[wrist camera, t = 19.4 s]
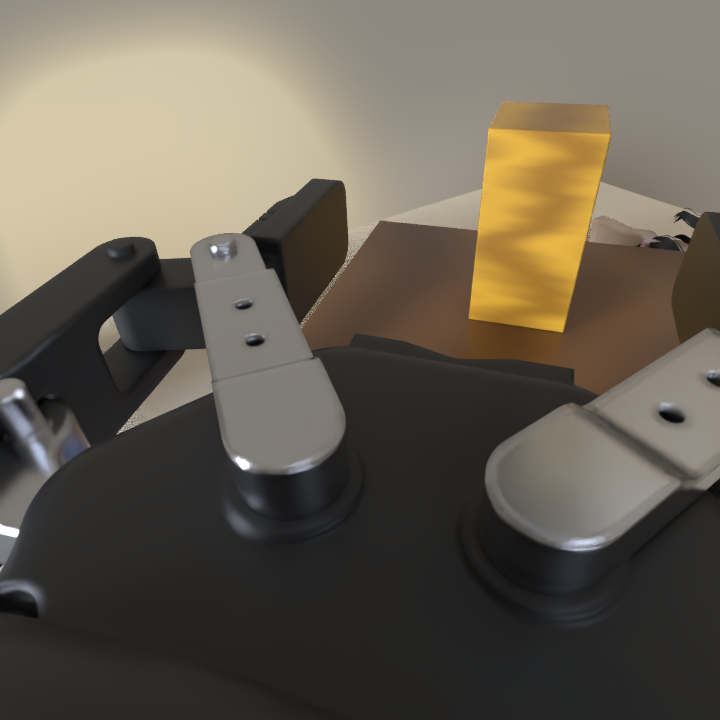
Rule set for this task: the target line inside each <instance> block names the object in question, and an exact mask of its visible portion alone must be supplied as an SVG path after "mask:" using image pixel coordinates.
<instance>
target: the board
mask: <svg viewBox="0 0 720 720" xmlns="http://www.w3.org/2000/svg"><path fill="white" fill-rule="evenodd" d="M477 234H478V231H477V230H467V229H457V228H447V227H437V226H427V225H417V224H407V223H397V222H388V221H379V223H378V224H377V226H376V227H375V228H374V230H373V231H372V233H371V234H370V235H369V237H368V238H367V239H366V241H365V242H364V244H363V245H362V246H361V248H360V249H359V251H358V252H357V253H356V255H355V256H354V258H353V259H352V260H351V262H350V263H349V264H348V266H347V267H346V269H345V270H344V271H343V273H342V274H341V276H340V277H339V278H338V280H337V281H336V282H335V284H334V285H333V287H332V288H331V289H330V291H329V292H328V294H327V295H326V296H325V298H324V299H323V301H322V302H321V303H320V305H319V306H318V307H317V309H316V310H315V312H314V313H313V314H312V316H311V317H310V319H309V320H308V321H307V323H306V324H305V325H304V327H303V328H302V332H303V335H304V337H305V339H306V341H307V343H308V346H309V348H310V350H311V351H312V350H316V349H321V348H327V347H336V346H348V345H349V343H350V341H351V340H352V338H353V336H354V334H355V333H358V334H364V335H370V336H376V337H382V338H388V339H395V340H401V341H406V342H409V343H412V344H414V345H417V346H420V347H423V348H426V349H429V350H432V351H435V352H438V353H440V354H443V355H446V356H449V357H452V358H457V359H517V360H523V361H529V362H535V363H541V364H547V365H553V366H559V367H565V368H572V369H575V371H574V385H577V386H579V387H582V388H584V389H587V390H589V391H591V392H594V393H596V394H598V395H599V396H601V395H603V394H604V393H606V392H607V391H609V390H610V389H612V388H614V387H615V386H617V385H618V384H620V383H621V382H623V381H625V380H626V379H628V378H629V377H631V376H632V375H634V374H635V373H637V372H639V371H640V370H642V369H643V368H645V367H646V366H648V365H650V364H651V363H653V362H654V361H656V360H657V359H659V358H661V357H662V356H664V355H665V354H667V353H668V352H670V351H672V350H673V349H675V348H676V347H678V346H679V345H680V342H679V337H678V333H677V329H676V324H675V320H674V315H673V311H672V306H671V298H672V291H673V287H674V283H675V280H676V277H677V274H678V272H679V269H680V266H681V264H682V261H683V258H684V256H685V253H686V252H685V251H675V250H665V249H655V248H645V247H635V246H626V245H616V244H606V243H596V242H586V243H585V247H584V251H583V255H582V259H581V263H580V267H579V271H578V275H577V280H576V284H575V288H574V292H573V296H572V300H571V304H570V308H569V312H568V317H567V321H566V325H565V329H564V332H555V331H548V330H542V329H535V328H528V327H521V326H514V325H508V324H501V323H494V322H487V321H481V320H474V319H469V310H470V300H471V291H472V281H473V272H474V263H475V253H476V244H477Z"/></svg>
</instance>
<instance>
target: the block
mask: <svg viewBox="0 0 720 720" xmlns="http://www.w3.org/2000/svg"><path fill="white" fill-rule="evenodd" d="M610 140H611V128H610V118H609V108H608V106H607V105H583V104H582V105H581V104H555V103H527V102H503V103H502V104H501V106H500V108H499V110H498V112H497V114H496V116H495V118H494V120H493V122H492V124H491V126H490V128H489V130H488V140H487V150H486V159H485V168H484V177H483V187H482V196H481V206H480V215H479V225H478V234H477V244H476V253H475V263H474V272H473V281H472V291H471V300H470V310H469V319H474V320H481V321H487V322H494V323H501V324H508V325H514V326H521V327H528V328H535V329H542V330H548V331H555V332H564V329H565V325H566V321H567V317H568V312H569V308H570V304H571V300H572V296H573V292H574V288H575V284H576V280H577V275H578V271H579V267H580V263H581V259H582V255H583V251H584V247H585V243H586V238H587V234H588V230H589V226H590V222H591V218H592V214H593V210H594V206H595V201H596V197H597V193H598V189H599V185H600V181H601V177H602V172H603V169H604V164H605V160H606V156H607V152H608V148H609V144H610Z"/></svg>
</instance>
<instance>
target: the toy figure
mask: <svg viewBox="0 0 720 720" xmlns="http://www.w3.org/2000/svg"><path fill="white" fill-rule="evenodd" d="M685 212H686V211H682V212H680V213H678V214H677V215H678V216H680V217H679V218H678V219H677V220H676V221H675V222H677V221H678V220H680V219H683V220H684V221H685V220H686V221H687V222H688V223H689V224H688V223H687V222H686V221H685V222H686V223H687V224H688V225H689V226H691V227H692V228H694V229H695V227H696V224H697V222H698V220H699V218H698V217H696V216H694V215H692V214H690V213H688V212H686V213H685ZM694 213H695V212H694ZM695 214H696V213H695ZM677 215H675V216H677ZM675 216H674V217H675ZM678 216H677V217H678ZM699 216H700V215H699ZM677 217H676V218H677ZM676 218H675V219H676ZM675 222H674V223H675ZM664 236H669V235H664ZM670 237H671V236H670ZM674 237H675V238H678V239H681V240H682V241H683V242H682V241H680V240H671V239H670V238H669V237H663V236H659V237H658V236H657V235H656V233H655V232H653V231H651V230H642V229H633V228H631V227H629V226H627V225H625V224H623V223H621V222H619V221H617V220H615V219H610V218H609V217H606V216H601V217H598V218H595V219H594V221H593V224H592V228H591V232H590V236H589V240H588V241H589V242H596V243H606V244H616V245H626V246H635V247H645V248H655V249H665V250H675V251H685V252H686V251H687V248H688V245H689V243H690V240H691V239H690V238H689V237H687V236H686V235H677V236H674ZM672 238H673V237H672ZM684 242H685V243H684Z"/></svg>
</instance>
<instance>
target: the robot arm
mask: <svg viewBox="0 0 720 720" xmlns="http://www.w3.org/2000/svg"><path fill="white" fill-rule="evenodd" d="M347 251H348V227H347V208H346V191H345V186H344V184H343V182H342V181H337V180H326V179H312V180H311V181H309V182H308V183H307V184H306V185H305V186H304V187H303V188H302V189H301V190H299V192H297V193H296V194H295V195H294V196H291V197H288V198H286V199H284V200H282V201H279V202H277V203H276V204H274V205H273V206H272V207H271V208H270V209H269V210H268V211H267V213H264V214H263V215H262V216H261V217H260V218H259V220H256V221H255V222H254V223H253V224H252V225H251V226H249V228H247V229H246V230H245V231H244V232H243V233H242V234H238V233H224V234H218V235H213V236H209V237H207V238H204V239H202V240H200V241H198V242H197V243H195V244H194V245H193V246H192V248H191V249H190V255H191V258H177V259H159V256H158V253H157V249H156V246H155V243H154V242H153V241H152V240H150V239H147V238H143V237H126V238H118V239H114V240H112V241H109V242H106V243H103V244H101V245H99V246H97V247H96V248H94V249H93V250H92V251H90V252H89V253H87V254H86V255H84V256H83V257H82V258H80V259H79V260H77V261H76V262H75V263H73V264H72V265H70V266H69V267H68V268H66V269H65V270H63V271H62V272H61V273H59V274H58V275H56V276H55V277H53V278H52V279H51V280H49V281H48V282H46V283H45V284H44V285H42V286H41V287H39V288H38V289H37V290H35V291H34V292H32V293H31V294H30V295H28V296H27V297H25V298H24V299H22V300H21V301H20V302H18V303H17V304H15V305H14V306H13V307H11V308H10V309H8V310H7V311H6V312H4V313H3V314H1V315H0V567H1V566H2V565H4V567H3V569H2V570H1V572H0V720H720V213H715V212H704V213H703V214H702V215H701V217H700V218H699V220H698V222H697V224H696V227H695V229H694V232H693V235H692V237H691V240H690V243H689V245H688V248H687V251H686V253H685V256H684V258H683V261H682V264H681V266H680V269H679V272H678V274H677V277H676V280H675V283H674V287H673V291H672V298H671V306H672V311H673V315H674V320H675V324H676V329H677V333H678V337H679V342H680V345H679V346H678V347H676V348H675V349H673V350H672V351H670V352H668V353H667V354H665V355H664V356H662V357H661V358H659V359H657V360H656V361H654V362H653V363H651V364H650V365H648V366H646V367H645V368H643V369H642V370H640V371H639V372H637V373H635V374H634V375H632V376H631V377H629V378H628V379H626V380H625V381H623V382H621V383H620V384H618V385H617V386H615V387H614V388H612V389H610V390H609V391H607V392H606V393H604V394H603V395H601V396H599V395H598V394H596V393H594V392H591V391H589V390H587V389H584V388H582V387H579V386H577V385H574V371H575V369H572V368H565V367H559V366H553V365H547V364H541V363H535V362H529V361H523V360H517V359H457V358H452V357H449V356H446V355H443V354H440V353H438V352H435V351H432V350H429V349H426V348H423V347H420V346H417V345H414V344H412V343H409V342H406V341H401V340H395V339H388V338H382V337H376V336H370V335H364V334H358V333H355V334H354V336H353V338H352V340H351V341H350V343H349V345H348V346H336V347H327V348H321V349H316V350H312V351H311V350H310V348H309V346H308V343H307V341H306V339H305V337H304V335H303V332H302V330H301V328H300V326H299V324H300V323H301V321H302V320H303V319H304V317H305V316H306V315H307V313H308V312H309V310H310V309H311V308H312V306H313V305H314V304H315V302H316V301H317V299H318V298H319V297H320V295H321V294H322V293H323V291H324V290H325V288H326V287H327V286H328V284H329V283H330V282H331V280H332V279H333V277H334V276H335V275H336V273H337V272H338V271H339V269H340V268H341V266H342V265H343V264H344V262H345V259H346V256H347ZM111 316H113V319H114V321H115V324H116V326H117V329H118V332H119V334H120V337H121V338H120V339H119V340H118V341H117V342H116V343H115V344H114V345H113V346H112V347H111V348H110V349H108V350H107V351H106V352H105V353H104V354H102V351H101V349H100V346H99V342H98V336H99V331H100V328H101V326H102V325H103V323H104V322H105V321H106V320H107V319H109V318H110V317H111ZM185 349H207V354H208V359H209V365H210V370H211V375H212V388H213V392H212V393H210V394H208V395H206V396H203V397H201V398H199V399H197V400H194V401H192V402H190V403H187V404H185V405H183V406H181V407H178V408H176V409H174V410H172V411H169V412H167V413H165V414H163V415H160V416H158V417H156V418H153V419H151V420H149V421H147V422H144V423H142V424H140V425H138V426H135V427H133V428H131V429H129V430H126V431H124V432H122V433H119V434H117V432H118V431H119V430H120V429H121V428H122V426H123V425H124V424H125V423H126V422H127V421H128V419H129V418H130V417H131V416H132V415H133V413H134V412H135V411H136V410H137V409H138V408H139V406H140V405H141V404H142V403H143V402H144V400H145V399H146V398H147V397H148V396H149V395H150V393H151V392H152V391H153V390H154V389H155V387H156V386H157V385H158V384H159V383H160V382H161V380H162V379H163V378H164V377H165V376H166V374H167V373H168V372H169V371H170V370H171V369H172V367H173V366H174V365H175V364H176V363H177V361H178V360H179V359H180V358H181V357H182V355H183V354H184V352H185ZM116 434H117V435H116Z"/></svg>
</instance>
